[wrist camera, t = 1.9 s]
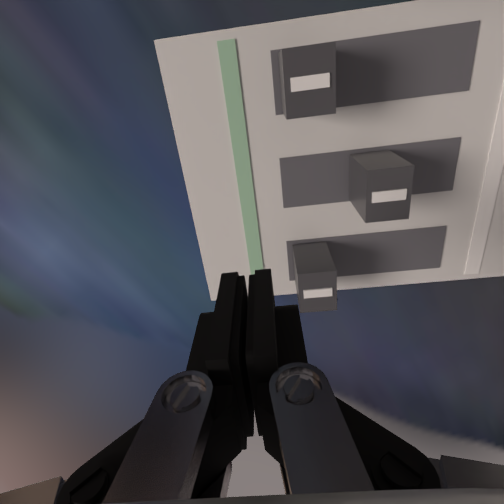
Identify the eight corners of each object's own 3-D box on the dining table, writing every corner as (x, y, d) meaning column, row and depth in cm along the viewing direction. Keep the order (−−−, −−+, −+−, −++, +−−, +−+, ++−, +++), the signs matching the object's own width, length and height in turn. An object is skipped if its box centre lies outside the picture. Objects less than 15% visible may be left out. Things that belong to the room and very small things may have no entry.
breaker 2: (325, 241, 24) (337, 271, 20) (326, 276, 25) (337, 310, 22) (292, 244, 24) (297, 275, 21) (294, 279, 26) (300, 313, 22)
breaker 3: (388, 149, 21) (415, 165, 17) (385, 195, 22) (409, 219, 19) (349, 154, 21) (367, 171, 17) (349, 199, 22) (365, 223, 19)
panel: (584, -21, 19) (620, -31, 17) (508, 260, 27) (526, 274, 25) (163, 42, 20) (153, 39, 19) (214, 286, 29) (211, 301, 27)
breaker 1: (321, 47, 18) (336, 40, 15) (322, 106, 20) (336, 113, 16) (277, 53, 19) (281, 48, 15) (282, 111, 20) (286, 119, 16)
